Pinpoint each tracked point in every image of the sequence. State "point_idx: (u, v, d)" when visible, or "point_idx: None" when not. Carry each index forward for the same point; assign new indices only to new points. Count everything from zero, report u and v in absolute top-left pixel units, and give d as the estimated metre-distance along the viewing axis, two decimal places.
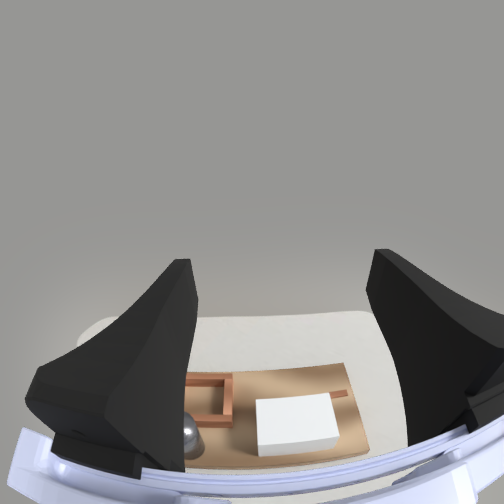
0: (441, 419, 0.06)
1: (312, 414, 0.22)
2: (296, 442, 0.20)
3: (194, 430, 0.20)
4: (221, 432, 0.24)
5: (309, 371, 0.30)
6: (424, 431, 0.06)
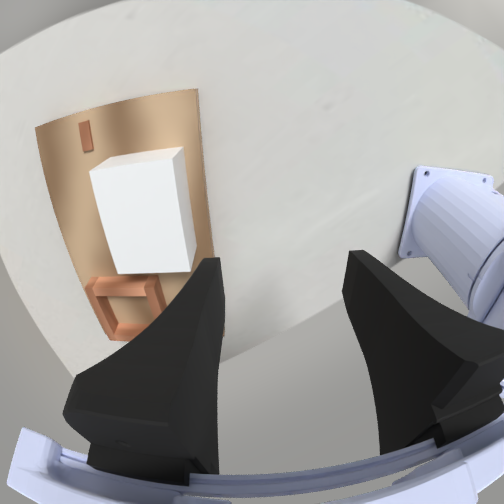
0: (409, 430, 0.06)
1: (130, 199, 0.15)
2: (182, 222, 0.16)
3: None
4: (167, 286, 0.22)
5: (52, 179, 0.16)
6: (394, 441, 0.06)
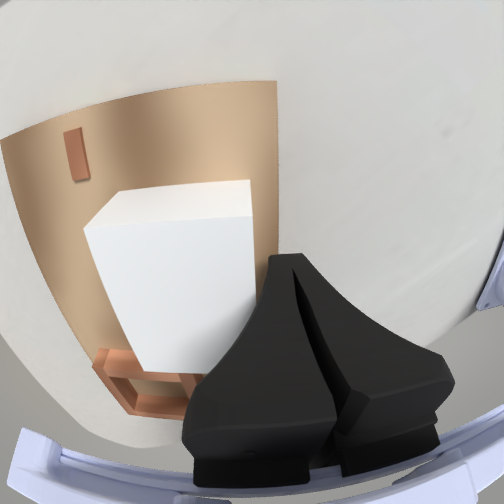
0: (322, 451, 0.05)
1: (164, 280, 0.09)
2: None
3: None
4: None
5: (30, 221, 0.10)
6: (314, 458, 0.06)
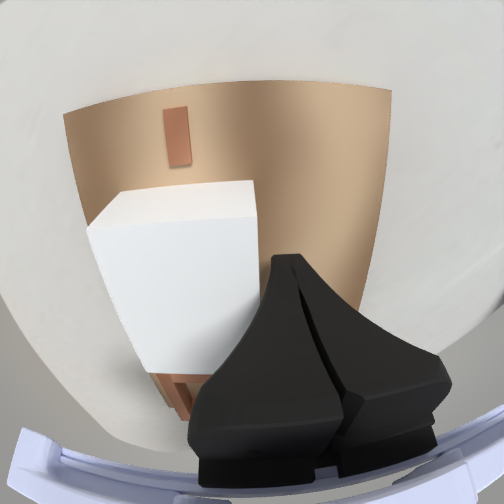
0: None
1: (168, 281, 0.08)
2: None
3: None
4: None
5: (97, 211, 0.10)
6: None
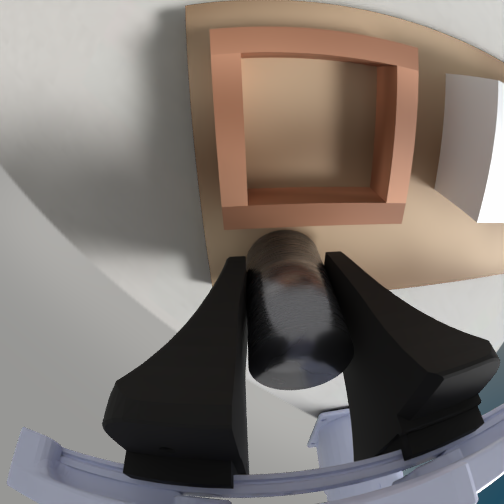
0: (378, 439, 0.06)
1: None
2: None
3: None
4: None
5: None
6: (365, 448, 0.06)
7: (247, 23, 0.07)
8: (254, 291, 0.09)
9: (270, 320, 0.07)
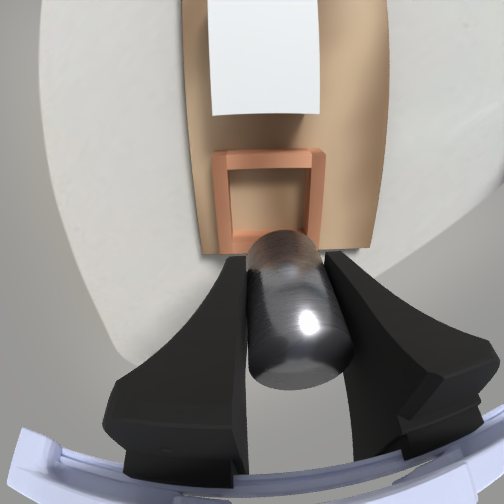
0: (378, 439, 0.06)
1: (258, 14, 0.09)
2: (318, 50, 0.11)
3: None
4: (326, 166, 0.17)
5: (194, 12, 0.11)
6: (365, 448, 0.06)
7: (213, 228, 0.19)
8: (254, 292, 0.09)
9: (270, 320, 0.07)
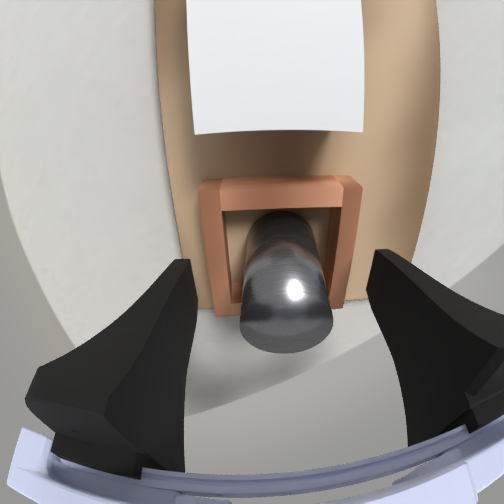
0: (441, 419, 0.06)
1: None
2: (361, 32, 0.06)
3: None
4: None
5: None
6: (424, 431, 0.06)
7: (205, 279, 0.14)
8: (252, 260, 0.10)
9: (263, 284, 0.09)
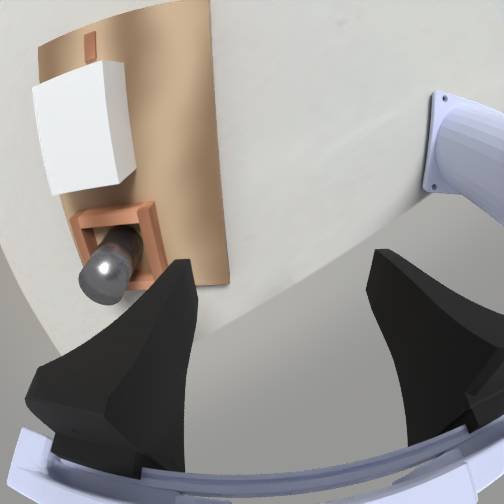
0: (441, 419, 0.06)
1: (63, 107, 0.11)
2: (109, 126, 0.12)
3: (123, 290, 0.16)
4: (164, 215, 0.19)
5: None
6: (424, 431, 0.06)
7: None
8: (93, 252, 0.17)
9: (88, 262, 0.15)
